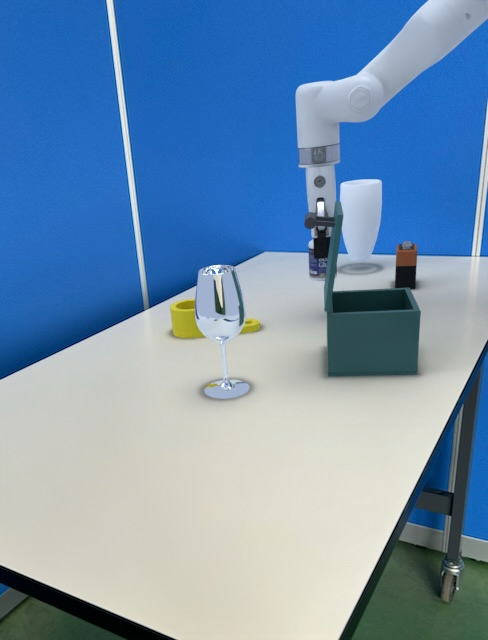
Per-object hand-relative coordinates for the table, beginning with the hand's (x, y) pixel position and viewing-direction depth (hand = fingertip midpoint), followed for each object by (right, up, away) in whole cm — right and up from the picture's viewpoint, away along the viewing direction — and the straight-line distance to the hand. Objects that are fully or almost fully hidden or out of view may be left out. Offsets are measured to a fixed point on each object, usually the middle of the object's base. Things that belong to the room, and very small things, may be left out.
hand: (322, 253), depth 122 cm
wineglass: (-20, -27, -21) cm, 40 cm away
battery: (+23, -3, +21) cm, 31 cm away
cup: (+18, +4, +37) cm, 42 cm away
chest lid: (-3, -6, -23) cm, 24 cm away
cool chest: (+4, -22, -16) cm, 28 cm away
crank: (-21, -15, +6) cm, 26 cm away
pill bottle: (+1, -5, +2) cm, 5 cm away
